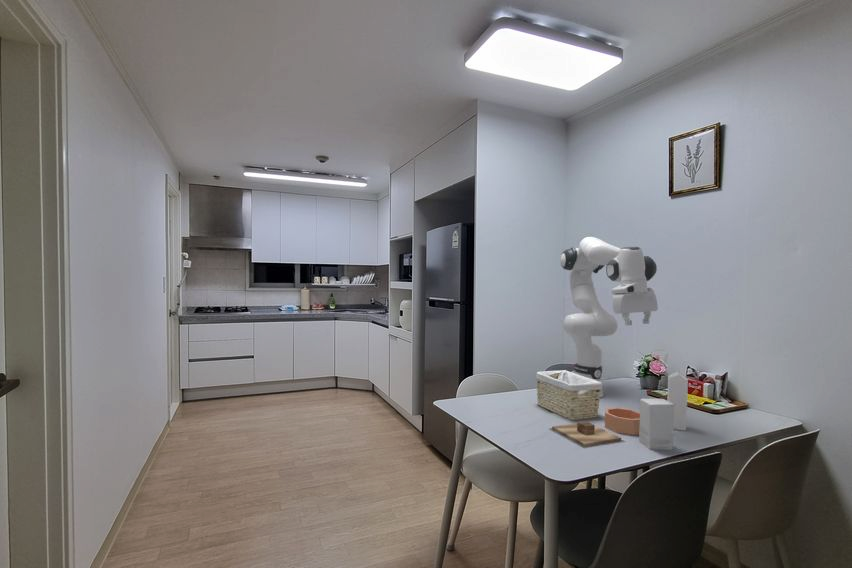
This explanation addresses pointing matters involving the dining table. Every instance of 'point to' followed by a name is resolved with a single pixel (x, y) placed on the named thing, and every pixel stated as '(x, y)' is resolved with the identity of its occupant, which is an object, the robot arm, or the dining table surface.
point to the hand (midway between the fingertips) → (637, 324)
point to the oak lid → (586, 433)
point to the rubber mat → (586, 446)
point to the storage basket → (568, 394)
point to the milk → (678, 399)
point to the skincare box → (656, 423)
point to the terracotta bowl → (622, 421)
